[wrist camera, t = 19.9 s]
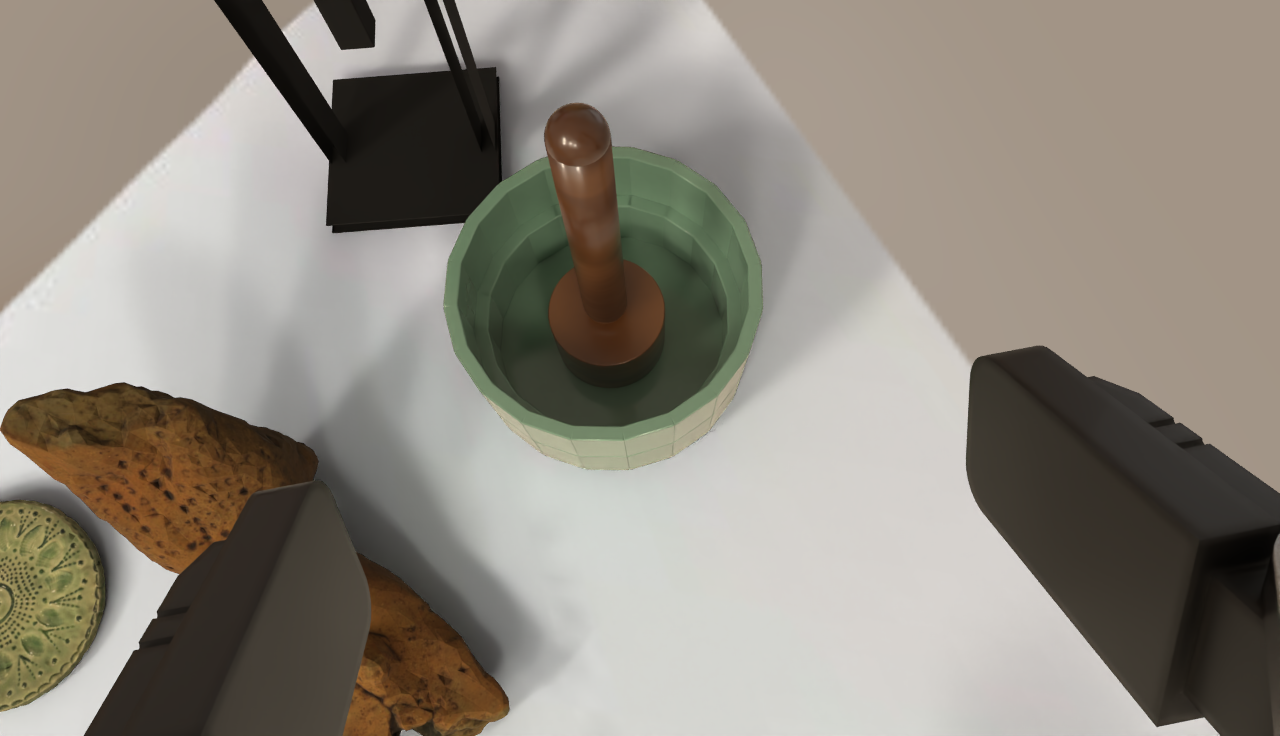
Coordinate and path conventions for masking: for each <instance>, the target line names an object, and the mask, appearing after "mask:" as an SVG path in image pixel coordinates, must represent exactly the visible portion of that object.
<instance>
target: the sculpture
mask: <svg viewBox="0 0 1280 736" xmlns="http://www.w3.org/2000/svg"><path fill="white" fill-rule="evenodd" d="M0 431H1V432H2V434H3V435H4V436H5V438H6V439H7V441H8V442H9V443H10V444H11V445H12V446H14V447H15V448H16V449H18V450H19V451H21V452H22V453H23V454H25V455H26V456H27V457H28V458H30V459H31V460H32V461H33V462H34V463H36V464H37V465H38V466H39V467H40V468H41V469H43V470H44V471H45V472H46V473H47V474H49V475H50V476H51V477H52V478H53V479H55V480H57V481H59V482H61V483H63V484H65V485H66V486H67V487H68V488H69V489H70V490H71V491H72V492H73V493H74V494H75V495H76V496H78V497H79V498H80V499H81V500H82V501H83V502H84V503H85V504H86V505H87V506H88V507H89V508H90V509H91V510H92V511H93V513H94V514H95V515H96V516H97V517H99V518H100V519H102V520H104V521H107V522H108V523H109V524H110V525H112V526H113V527H114V528H115V529H116V530H117V531H118V532H119V533H120V534H122V535H123V536H124V537H126V538H127V539H128V540H129V541H130V542H131V543H132V544H133V545H134V546H135V547H136V548H137V549H138V550H139V551H141V552H142V553H144V554H145V555H146V556H147V557H148V558H149V559H151V560H152V561H154V562H156V563H158V564H159V565H161V566H162V567H163V568H165V569H166V570H169V571H172V572H175V573H178V574H181V573H182V572H183V571H184V570H185V569H186V568H187V567H188V566H189V565H190V564H191V563H192V562H193V561H194V560H195V559H196V558H197V557H199V556H200V555H201V554H202V553H203V552H204V551H205V550H206V549H207V548H208V547H209V546H210V545H211V544H212V543H213V542H217V541H222V540H226V539H227V537H228V535H229V534H230V532H231V530H232V528H233V526H234V524H235V522H236V521H237V519H238V517H239V515H240V513H241V511H242V510H243V508H244V506H245V504H246V502H247V500H248V499H249V497H250V496H251V495H252V494H253V493H255V492H257V491H263V490H268V489H273V488H279V487H284V486H289V485H294V484H300V483H305V482H310V481H313V478H314V476H315V473H316V471H317V467H318V463H319V461H318V457H317V455H316V454H315V452H314V450H312V449H311V448H309V447H308V446H306V445H305V444H304V443H300V442H296V441H295V440H293V439H292V438H290V437H288V436H286V435H283V434H282V433H280V432H277V431H274V430H270V429H268V428H266V427H257V426H253V425H249V424H248V423H247V422H246V421H245V420H242V419H239V418H236V417H233V416H231V415H228V414H225V413H222V412H219V411H216V410H214V409H211V408H209V407H207V406H205V405H203V404H201V403H199V402H196V401H194V400H192V399H187V398H181V397H179V398H174V397H172V396H170V395H169V394H166V393H163V392H160V391H151V390H149V389H147V388H144V387H142V386H141V387H135V386H133V385H130V384H127V383H125V382H124V383H115V384H111V385H108V386H105V387H102V388H99V389H95V390H92V391H89V392H81V391H75V390H71V389H60V390H54V391H50V392H48V393H45V394H42V395H38V396H34V397H30V398H26V399H22V400H18V401H17V402H16V403H15V404H14V405H13V406H12V407H11V408H10V409H8V411H7V413H6V414H5V416H4V419H3V422H2V424H1V427H0ZM356 554H357V556H358V559H359V561H360V564H361V566H362V568H363V571H364V573H365V576H366V579H367V583H368V587H369V592H370V599H371V623H370V629H369V633H368V637H367V641H366V645H365V649H364V653H363V657H362V661H361V665H360V669H359V673H358V677H357V681H356V684H355V688H354V692H353V696H352V700H351V704H350V708H349V712H348V716H347V720H346V724H345V728H344V732H343V736H399V735H400V732H401V730H403V729H404V730H406V731H408V730H411V729H413V730H415V731H416V732H418V733H420V734H421V735H423V736H475V735H477V734H479V733H481V732H482V730H483V728H484V727H485V726H486V725H487V724H488V723H489V722H495V721H497V720H500V719H502V718H504V717H505V716H506V715H507V714H508V712H509V710H510V708H509V700H508V697H507V695H506V694H505V692H504V690H503V689H502V687H501V686H500V685H499V683H498V682H497V681H496V680H495V679H494V678H493V677H492V676H491V675H489V674H488V673H487V672H486V671H485V670H484V669H483V668H482V667H481V665H480V664H479V663H478V662H477V660H476V659H475V657H474V656H473V654H472V653H471V651H470V650H469V648H468V646H467V645H466V643H465V641H464V640H463V638H462V637H461V636H460V635H459V634H458V633H457V632H456V631H455V630H454V629H453V628H452V627H451V626H450V625H449V624H447V623H446V622H445V621H444V620H443V619H442V618H441V617H440V616H438V615H437V614H435V613H434V612H433V611H431V609H430V607H429V605H428V604H427V603H426V602H425V601H424V600H423V599H422V598H421V597H420V596H419V595H418V594H416V593H415V592H414V591H413V590H412V589H411V588H410V587H409V586H408V585H407V584H406V583H405V582H404V581H402V580H401V579H400V578H399V577H398V576H396V575H395V574H393V573H392V572H391V571H389V570H388V569H386V568H384V567H382V566H380V565H378V564H376V563H374V562H372V561H371V560H369V559H368V558H366V557H365V556H363V555H362V554H360V553H358V552H356Z"/></svg>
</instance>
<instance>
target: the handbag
mask: <svg viewBox="0 0 1280 736" xmlns="http://www.w3.org/2000/svg"><path fill="white" fill-rule="evenodd" d="M214 1H215V2H216V3H217V5H218V6H219V8H220V9H221V10H222V12H223V13H224V15H225V16H226V17H227V19H228V20H229V22H230V23H231V24H232V26H233V27H234V29H235V30H236V31H237V32H238V34H239V36H240V37H241V38H242V40H243V41H244V42H245V44H246V45H247V47H248V48H249V49H250V51H251V52H252V54H253V55H254V57H255V58H256V59H257V61H258V62H259V64H260V65H261V66H262V68H263V69H264V71H265V72H266V73H267V75H268V76H269V77H270V79H271V80H272V82H273V83H274V84H275V86H276V87H277V89H278V90H279V91H280V93H281V94H282V96H283V97H284V98H285V100H286V101H287V103H288V104H289V105H290V107H291V108H292V110H293V111H294V112H295V114H296V115H297V117H298V118H299V119H300V121H301V122H302V124H303V125H304V126H305V128H306V129H307V131H308V132H309V133H310V135H311V136H312V138H313V139H314V140H315V142H316V143H317V145H318V146H319V147H320V149H321V150H322V152H323V153H324V154H325V156H326V157H327V158H328V160H329V176H328V196H327V217H326V226H332V233H341V232H354V231H367V230H379V229H392V228H405V227H417V226H430V225H443V224H455V223H465V222H466V220H467V219H468V217H469V216H470V215H471V214H472V212H473V211H474V210H475V209H476V208H477V207H478V206H479V205H480V204H481V202H482V201H483V200H484V199H485V198H486V197H487V196H488V195H489V194H490V193H491V191H492V190H493V189H494V188H495V187H496V186H497V185H498V184H499V183H500V182H502V171H501V133H500V96H499V77H496V67H492V68H479V69H477V67H476V64H475V61H474V58H473V55H472V52H471V49H470V46H469V43H468V40H467V37H466V34H465V31H464V28H463V24H462V21H461V18H460V15H459V12H458V9H457V6H456V3H455V0H443V2H444V5H445V8H446V11H447V14H448V17H449V19H450V22H451V25H452V28H453V31H454V34H455V37H456V40H457V42H458V45H459V48H460V51H461V54H462V57H463V60H464V63H465V65H466V68H467V69H466V70H462V69H461V66H460V63H459V60H458V57H457V55H456V52H455V49H454V46H453V43H452V41H451V38H450V35H449V32H448V29H447V27H446V24H445V21H444V18H443V15H442V13H441V10H440V7H439V4H438V1H437V0H424V1H425V4H426V7H427V9H428V12H429V15H430V17H431V20H432V23H433V25H434V28H435V30H436V33H437V36H438V38H439V41H440V44H441V46H442V49H443V52H444V54H445V57H446V60H447V62H448V65H449V68H450V70H451V71H441V72H428V73H415V74H402V75H389V76H377V77H364V78H351V79H338V80H333V93H332V109H331V108H330V106H329V104H328V103H327V101H326V100H325V98H324V97H323V95H322V93H321V92H320V90H319V89H318V87H317V86H316V84H315V83H314V81H313V79H312V78H311V76H310V75H309V73H308V72H307V70H306V68H305V67H304V65H303V64H302V62H301V61H300V59H299V57H298V56H297V54H296V53H295V51H294V50H293V48H292V47H291V45H290V43H289V42H288V40H287V39H286V37H285V36H284V34H283V32H282V31H281V29H280V28H279V26H278V25H277V23H276V21H275V20H274V18H273V17H272V15H271V14H270V12H269V11H268V9H267V7H266V6H265V4H264V3H263V1H262V0H214ZM314 2H315V4H316V5H317V7H318V9H319V11H320V13H321V14H322V16H323V18H324V20H325V22H326V23H327V25H328V27H329V29H330V31H331V32H332V34H333V36H334V38H335V40H336V41H337V43H338V45H339V47H340V49H341V50H346V49H359V48H372V47H375V18H374V16H373V14H372V12H371V10H370V8H369V6H368V3H367V1H366V0H314Z"/></svg>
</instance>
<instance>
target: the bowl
mask: <svg viewBox="0 0 1280 736" xmlns="http://www.w3.org/2000/svg"><path fill="white" fill-rule="evenodd" d="M612 153H613V163H614V173H615V183H616V194H617V204H618V214H619V224H620V234H621V245H622V255H623V259H624V260H628V261H631V262H633V263H635V264H637V265H639V266H640V267H642V268H643V269H644V270H646V271H647V272H648V273H649V274H650V275H651V276H652V277H653V278H654V280H655V281H656V282H657V284H658V286H659V288H660V289H661V292H662V295H663V298H664V303H665V339H664V346H663V351H662V353H661V356H660V358H659V360H658V362H657V363H656V365H655V366H654V368H653V369H652V370H651V371H650V372H649V373H648V374H647V375H646V376H644V377H643V378H642V379H640V380H638V381H637V382H634V383H632V384H630V385H627V386H624V387H618V388H602V387H597V386H593V385H590V384H588V383H586V382H584V381H582V380H580V379H579V378H577V377H576V376H575V375H574V374H573V373H572V372H571V371H570V370H569V369H568V368H567V367H566V365H565V363H564V362H563V360H562V358H561V356H560V353H559V350H558V347H557V345H556V342H555V339H554V337H553V334H552V331H551V328H550V325H549V319H548V308H549V301H550V298H551V295H552V292H553V290H554V288H555V287H556V285H557V283H558V282H559V281H560V279H561V278H562V277H563V276H564V275H565V274H566V273H567V272H568V271H569V270H571V269H572V268H573V267H574V264H573V260H572V256H571V251H570V247H569V243H568V239H567V235H566V231H565V226H564V222H563V218H562V214H561V210H560V205H559V201H558V197H557V193H556V189H555V185H554V180H553V176H552V172H551V168H550V164H549V159H548V157H545V158H541V159H539V160H537V161H535V162H533V163H532V164H530V165H528V166H527V167H525V168H523V169H522V170H520V171H519V172H517V173H515V174H514V175H512V176H510V177H509V178H507V179H505V180H504V181H502V182H500V183H499V184H498V185H497V186H496V187H495V188H494V189H493V190H492V191H491V193H490V194H489V195H488V196H487V197H486V198H485V199H484V200H483V201H482V202H481V204H480V205H479V206H478V207H477V208H476V209H475V210H474V211H473V212H472V214H471V215H470V216H469V217H468V219H467V220H466V222H465V224H464V226H463V228H462V231H461V233H460V235H459V237H458V239H457V242H456V244H455V246H454V248H453V250H452V253H451V255H450V257H449V259H448V264H447V274H446V284H445V294H444V304H443V306H444V312H445V316H446V321H447V325H448V329H449V333H450V337H451V341H452V345H453V349H454V352H455V354H456V356H457V357H458V359H459V360H460V362H461V363H462V365H463V366H464V368H465V370H466V371H467V373H468V374H469V376H470V377H471V379H472V380H473V382H474V383H475V385H476V386H477V388H478V389H479V391H480V392H481V393H482V395H483V396H484V397H485V399H486V400H487V401H488V402H489V404H490V405H491V406H492V407H493V409H494V410H495V411H496V412H497V414H498V415H499V416H500V418H501V419H502V420H503V421H504V423H505V424H506V425H507V426H508V427H509V429H510V430H511V431H512V432H514V433H515V434H516V435H518V436H519V437H520V438H522V439H523V440H524V441H526V442H527V443H528V444H529V445H531V446H532V447H533V448H535V449H536V450H537V451H539V452H540V453H541V454H544V455H545V456H548V457H551V458H554V459H556V460H559V461H562V462H565V463H568V464H571V465H574V466H577V467H580V468H585V469H588V470H629V469H630V470H632V469H635V468H638V467H641V466H645V465H648V464H651V463H655V462H658V461H661V460H664V459H668V458H671V457H673V456H675V455H676V454H678V453H679V452H681V451H682V450H683V449H685V448H686V447H688V446H689V445H691V444H692V443H693V442H695V441H696V440H698V439H699V438H701V437H702V436H703V435H705V434H706V433H708V431H710V429H711V428H712V427H713V425H714V424H715V423H716V421H717V420H718V419H719V417H720V416H721V415H722V413H723V412H724V410H725V409H726V408H727V406H728V405H729V404H730V402H731V401H732V400H733V398H734V396H735V393H736V390H737V387H738V384H739V382H740V379H741V376H742V373H743V370H744V367H745V364H746V361H747V358H748V355H749V352H750V349H751V346H752V343H753V340H754V337H755V334H756V331H757V327H758V324H759V321H760V318H761V315H762V312H763V311H762V310H763V290H762V265H761V260H760V258H759V255H758V252H757V250H756V247H755V245H754V242H753V239H752V237H751V234H750V232H749V229H748V226H747V224H746V222H745V220H744V218H743V217H742V216H741V215H740V214H739V212H738V211H737V210H736V209H735V208H734V206H733V205H732V204H731V203H730V202H729V200H728V199H727V198H726V197H725V195H724V194H723V193H722V192H721V191H720V189H719V188H718V187H717V186H715V184H713V183H712V182H710V181H709V180H707V179H706V178H704V177H702V176H701V175H699V174H698V173H696V172H695V171H693V170H692V169H690V168H688V167H687V166H685V165H684V164H682V163H681V162H679V161H676V160H675V159H672V158H668V157H665V156H661V155H658V154H655V153H651V152H648V151H644V150H641V149H637V148H634V147H632V148H631V147H612Z"/></svg>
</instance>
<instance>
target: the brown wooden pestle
mask: <svg viewBox="0 0 1280 736" xmlns="http://www.w3.org/2000/svg"><path fill="white" fill-rule="evenodd" d="M544 142H545V147H546V151H547V155H548V159H549V164H550V168H551V172H552V176H553V180H554V185H555V189H556V193H557V197H558V201H559V205H560V210H561V214H562V218H563V222H564V226H565V231H566V235H567V239H568V243H569V247H570V251H571V256H572V260H573V264H574V267H573V268H572V269H571V270H569V271H568V272H567V273H566V274H565V275H564V276H563V277H562V278H561V279H560V281H559V282H558V283H557V285H556V287H555V288H554V290H553V292H552V295H551V298H550V301H549V308H548V319H549V325H550V328H551V331H552V334H553V337H554V339H555V342H556V345H557V347H558V350H559V353H560V356H561V358H562V360H563V362H564V363H565V365H566V367H567V368H568V369H569V370H570V371H571V372H572V373H573V374H574V375H575V376H576V377H577V378H579V379H580V380H582V381H584V382H586V383H588V384H590V385H593V386H597V387H602V388H618V387H624V386H627V385H630V384H632V383H634V382H637V381H638V380H640V379H642V378H643V377H644V376H646V375H647V374H648V373H649V372H650V371H651V370H652V369H653V368H654V366H655V365H656V363H657V362H658V360H659V358H660V356H661V353H662V351H663V346H664V339H665V303H664V298H663V295H662V292H661V289H660V288H659V286H658V284H657V282H656V281H655V280H654V278H653V277H652V276H651V275H650V274H649V273H648V272H647V271H646V270H644V269H643V268H642V267H640V266H639V265H637V264H635V263H633V262H631V261H628V260H624V259H623V255H622V245H621V234H620V224H619V214H618V204H617V194H616V183H615V173H614V163H613V153H612V143H611V133H610V129H609V126H608V123H607V121H606V119H605V118H604V116H603V115H602V114H601V113H600V112H599V111H598V110H597V109H595V108H594V107H592V106H590V105H588V104H584V103H569V104H566V105H564V106H561V107H560V108H558V109H557V110H556V111H555V112H554V113H553V114H552V115H551V116H550V118H549V119H548V121H547V124H546V127H545V132H544Z"/></svg>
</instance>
